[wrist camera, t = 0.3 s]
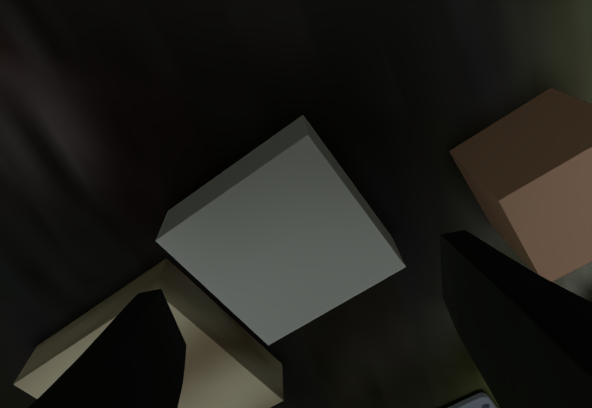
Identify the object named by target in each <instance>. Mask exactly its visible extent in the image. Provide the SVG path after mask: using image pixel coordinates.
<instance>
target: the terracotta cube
mask: <svg viewBox="0 0 592 408" xmlns="http://www.w3.org/2000/svg"><path fill="white" fill-rule="evenodd" d="M449 152H450V154H451V156H452V157H453V159H454V161H455V163H456V164H457V166H458V168H459V170H460V171H461V173H462V175H463V177H464V178H465V180H466V182H467V184H468V185H469V187H470V189H471V191H472V192H473V194H474V196H475V198H476V199H477V201H478V203H479V204H480V206H481V208H482V210H483V211H484V213H485V215H486V217H487V218H488V220H489V222H490V224H491V225H492V226H493V227H494V228H495V230H496V231H497V232H498V233H499V234H500V235H501V236H502V237H503V239H504V240H505V241H506V242H507V243H508V244H509V245H510V247H511V248H512V249H513V250H514V251H515V252H516V253H517V255H518V256H519V257H520V258H521V259H522V260H523V261H524V262H525V264H526V265H527V266H528V267H529V268H530V269H531V270H532V271H533V272H535V273H536V274H538V275H540V276H542V277H544V278H545V279H547V280H549V281H551V282H552V281H554V280H556V279H558V278H560V277H562V276H564V275H566V274H568V273H570V272H572V271H574V270H576V269H578V268H580V267H582V266H584V265H586V264H588V263H590V262H591V261H592V104H590V103H587V102H585V101H582V100H580V99H578V98H575V97H573V96H570V95H568V94H565V93H563V92H560V91H558V90H556V89H553V88H550V89H548V90H547V91H545V92H543V93H542V94H540V95H538V96H537V97H535V98H534V99H532V100H530V101H529V102H527V103H526V104H524V105H522V106H521V107H519V108H518V109H516V110H514V111H513V112H511V113H510V114H508V115H506V116H505V117H503V118H502V119H500V120H498V121H497V122H495V123H494V124H492V125H490V126H489V127H487V128H486V129H484V130H482V131H481V132H479V133H478V134H476V135H474V136H473V137H471V138H470V139H468V140H466V141H465V142H463V143H462V144H460V145H458V146H457V147H455V148H454V149H452V150H450V151H449Z"/></svg>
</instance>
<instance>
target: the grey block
mask: <svg viewBox="0 0 592 408" xmlns="http://www.w3.org/2000/svg"><path fill="white" fill-rule="evenodd" d="M156 242H157V243H158V244H160V245H161V246H162V247H163V248H164V249H165V250H166V251H167V252H168V253H169V254H170V255H171V256H172V257H174V258H175V259H176V260H177V261H178V262H179V263H180V264H181V265H182V266H183V267H184V268H185V269H186V270H188V271H189V272H190V273H191V274H192V275H193V276H194V277H195V278H196V279H197V280H198V281H199V282H201V283H202V284H203V285H204V286H205V287H206V288H207V289H208V290H209V291H210V292H211V293H212V294H213V295H215V296H216V297H217V298H218V299H219V300H220V301H221V302H222V303H223V304H224V305H225V306H226V307H227V308H229V309H230V310H231V311H232V312H233V313H234V314H235V315H236V316H237V317H238V318H239V319H240V320H241V321H243V322H244V323H245V324H246V325H247V326H248V327H249V328H250V329H251V330H252V331H253V332H254V333H255V334H257V335H258V336H259V337H260V338H261V339H262V340H263V341H264V342H265V343H266V344H267V345H270V344H272V343H273V342H275V341H277V340H279V339H280V338H282V337H284V336H286V335H287V334H289V333H291V332H293V331H294V330H296V329H298V328H300V327H301V326H303V325H305V324H307V323H308V322H310V321H312V320H314V319H315V318H317V317H319V316H321V315H322V314H324V313H326V312H328V311H330V310H331V309H333V308H335V307H337V306H338V305H340V304H342V303H344V302H345V301H347V300H349V299H351V298H352V297H354V296H356V295H358V294H359V293H361V292H363V291H365V290H366V289H368V288H370V287H372V286H373V285H375V284H377V283H379V282H380V281H382V280H384V279H386V278H387V277H389V276H391V275H393V274H394V273H396V272H398V271H400V270H402V269H403V268H405V267H406V266H405V264H404V262H403V260H402V258H401V256H400V253H399V251H398V249H397V247H396V245H395V243H394V241H393V238H392V236H391V235H390V234H389V232H388V231H387V229H386V228H385V227H384V225H383V224H382V223H381V221H380V220H379V218H378V217H377V216H376V214H375V213H374V212H373V210H372V209H371V207H370V206H369V205H368V203H367V202H366V201H365V199H364V198H363V196H362V195H361V194H360V192H359V191H358V190H357V188H356V187H355V186H354V184H353V183H352V181H351V180H350V179H349V177H348V176H347V175H346V173H345V172H344V170H343V169H342V168H341V166H340V165H339V164H338V162H337V161H336V159H335V158H334V157H333V155H332V154H331V153H330V151H329V150H328V148H327V147H326V146H325V144H324V143H323V142H322V140H321V139H320V137H319V136H318V135H317V133H316V132H315V131H314V129H313V128H312V126H311V125H310V124H309V122H308V121H307V120H306V118H305V117H304V115H302V116H301V117H299V118H298V119H296V120H295V121H294V122H292V123H291V124H289V125H288V126H287V127H285V128H284V129H282V130H281V131H279V132H278V133H277V134H275V135H274V136H272V137H271V138H270V139H268V140H267V141H265V142H264V143H263V144H261V145H260V146H258V147H257V148H256V149H254V150H253V151H251V152H250V153H249V154H247V155H246V156H244V157H243V158H242V159H240V160H239V161H237V162H236V163H234V164H233V165H232V166H230V167H229V168H227V169H226V170H225V171H223V172H222V173H220V174H219V175H218V176H216V177H215V178H213V179H212V180H211V181H209V182H208V183H206V184H205V185H204V186H202V187H201V188H199V189H198V190H196V191H195V192H194V193H192V194H191V195H189V196H188V197H187V198H185V199H184V200H182V201H181V202H180V203H178V204H177V205H175V206H174V207H173V208H171V209H170V210H168V212H167V215H166V217H165V219H164V222H163V224H162V226H161V229H160V231H159V234H158V236H157V238H156Z"/></svg>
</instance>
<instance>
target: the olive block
mask: <svg viewBox="0 0 592 408" xmlns="http://www.w3.org/2000/svg"><path fill="white" fill-rule="evenodd" d="M157 289H162V291H163V294H164V296H165V298H166V300H167V303H168V305H169V307H170V309H171V311H172V314H173V316H174V318H175V320H176V323H177V325H178V327H179V329H180V332H181V334H182V336H183V338H184V340H185V343H186V345H187V346H186V358H185V370H184V379H183V385H182V390H181V395H180V399H179V404H178V408H270V407H272V406H274V405H276V404H278V403H280V402H282V401H283V377H282V364H281V363H280V362H279V361H278V360H277V359H276V358H275V357H274V356H273V355H272V354H271V353H269V352H268V351H267V350H266V349H265V348H264V347H263V346H262V345H261V344H260V343H259V342H257V341H256V340H255V339H254V338H253V337H252V336H251V335H250V334H249V333H248V332H247V331H245V330H244V329H243V328H242V327H241V326H240V325H239V324H238V323H237V322H236V321H235V320H233V319H232V318H231V317H230V316H229V315H228V314H227V313H226V312H225V311H224V310H223V309H221V308H220V307H219V306H218V305H217V304H216V303H215V302H214V301H213V300H212V299H211V298H209V297H208V296H207V295H206V294H205V293H204V292H203V291H202V290H201V289H200V288H199V287H197V286H196V285H195V284H194V283H193V282H192V281H191V280H190V279H189V278H188V277H187V276H185V275H184V274H183V273H182V272H181V271H180V270H179V269H178V268H177V267H176V266H175V265H173V264H172V263H171V262H170V261H169V260H168V259H167V258H166V259H165V260H163V261H162V262H160V263H159V264H157V265H156V266H154V267H153V268H151V269H150V270H148V271H147V272H146V273H144V274H143V275H141V276H140V277H138V278H137V279H135V280H134V281H132V282H131V283H129V284H128V285H126V286H125V287H123V288H122V289H120V290H119V291H118V292H116V293H115V294H113V295H112V296H110V297H109V298H107V299H106V300H104V301H103V302H101V303H100V304H98V305H97V306H95V307H94V308H92V309H91V310H89V311H88V312H87V313H85V314H84V315H82V316H81V317H79V318H78V319H76V320H75V321H73V322H72V323H70V324H69V325H67V326H66V327H64V328H63V329H61V330H60V331H59V332H57V333H56V334H54V335H53V336H51V337H50V338H48V339H47V340H45V341H44V342H42V343H41V344H39V345H38V346H37V347H36V349H35V350H34V352H33V353H32V355H31V357H30V358H29V360H28V361H27V363H26V365H25V366H24V368H23V370H22V371H21V373H20V374H19V376H18V378H17V379H16V381H15V382H14V385H15V386H17V387H19V388H20V389H22V390H23V391H25V392H27V393H28V394H30V395H32V396H33V397H35V398H36V399H38V398H39V397H40V396H41V395H42V394H43V393H44V392H45V391H46V390H47V389H48V388H49V387H50V386H51V385H52V384H53V383H54V382H55V381H56V380H57V379H58V378H59V377H60V376H61V375H62V374H63V373H64V372H65V371H66V370H67V369H68V368H69V367H70V366H71V365H72V364H73V363H74V362H75V361H76V360H77V359H78V358H79V357H80V356H81V355H82V354H83V353H84V351H85V350H86V349H87V348H88V347H89V346H90V345H91V344H92V343H93V342H94V340H95V339H96V338H97V337H98V336H99V335H100V334H101V333H102V332H103V331H104V330H105V328H106V327H107V326H108V325H109V324H110V323H111V322H112V321H113V320H114V318H115V317H116V316H117V315H118V314H119V313H120V312H121V311H122V310H123V309H124V308H125V306H126V305H127V304H128V303H129V302H130V301H131V300H132V299H133V298H134V297H135V296H136V295H137V294H138V293H142V292H147V291H152V290H157Z"/></svg>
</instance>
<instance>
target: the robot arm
mask: <svg viewBox="0 0 592 408" xmlns="http://www.w3.org/2000/svg"><path fill="white" fill-rule="evenodd" d="M440 243H441V265H442V288H443V299H444V301H445V304H446V306H447V309H448V311H449V314H450V316H451V318H452V321H453V323H454V325H455V328H456V330H457V332H458V334H459V336H460V338H461V340H462V342H463V343H464V345H465V347H466V349H467V350H468V352H469V354H470V356H471V357H472V359H473V361H474V363H475V364H476V366H477V368H478V370H479V371H480V373H481V375H482V377H483V378H484V380H485V382H486V384H487V385H488V387H489V389H490V391H491V392H492V394H493V396H494V398H495V399H496V401H497V403H498V405H499V406H500V408H592V302H590V301H588V300H586V299H584V298H582V297H580V296H578V295H576V294H574V293H572V292H570V291H568V290H566V289H564V288H562V287H560V286H559V285H557V284H555V283H553V282H551V281H549V280H547V279H545V278H544V277H542V276H540V275H538V274H536V273H535V272H533V271H531V270H529V269H528V268H526V267H524V266H523V265H521V264H519V263H518V262H516V261H514V260H513V259H511V258H509V257H508V256H506V255H504V254H503V253H501V252H499V251H498V250H496V249H495V248H493V247H491V246H490V245H488V244H487V243H485V242H483V241H482V240H480V239H479V238H477V237H475V236H474V235H472V234H471V233H469V232H467V231H465V230H463V231H457V232H452V233H447V234H442V235H440ZM186 346H187V345H186V343H185V340H184V338H183V336H182V334H181V332H180V329H179V327H178V325H177V323H176V320H175V318H174V316H173V314H172V311H171V309H170V307H169V305H168V303H167V300H166V298H165V296H164V294H163V291H162V289H157V290H152V291H147V292H142V293H138V294H137V295H136V296H135V297H134V298H133V299H132V300H131V301H130V302H129V303H128V304H127V305H126V306H125V308H124V309H123V310H122V311H121V312H120V313H119V314H118V315H117V316H116V317H115V318H114V320H113V321H112V322H111V323H110V324H109V325H108V326H107V327H106V328H105V330H104V331H103V332H102V333H101V334H100V335H99V336H98V337H97V338H96V339H95V340H94V342H93V343H92V344H91V345H90V346H89V347H88V348H87V349H86V350H85V351H84V353H83V354H82V355H81V356H80V357H79V358H78V359H77V360H76V361H75V362H74V363H73V364H72V365H71V366H70V367H69V368H68V369H67V370H66V371H65V372H64V373H63V374H62V375H61V376H60V377H59V378H58V379H57V380H56V381H55V382H54V383H53V384H52V385H51V386H50V387H49V388H48V389H47V390H46V391H45V392H44V393H43V394H42V395H41V396H40V397H39V398H38V399H37V400H36V401H35V402H34V403H33V404H31V405H30V406H29V407H28V408H178V404H179V399H180V395H181V390H182V385H183V379H184V370H185V358H186ZM447 408H497V406H496V405H495V404H494V402H493V401H492V400H491V399H490V397H489V396H488V395H487V394H486V393H478V394H475V395H473V396H471V397H469V398H467V399H465V400H462V401H460V402H458V403H456V404H454V405H452V406H450V407H447Z"/></svg>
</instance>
